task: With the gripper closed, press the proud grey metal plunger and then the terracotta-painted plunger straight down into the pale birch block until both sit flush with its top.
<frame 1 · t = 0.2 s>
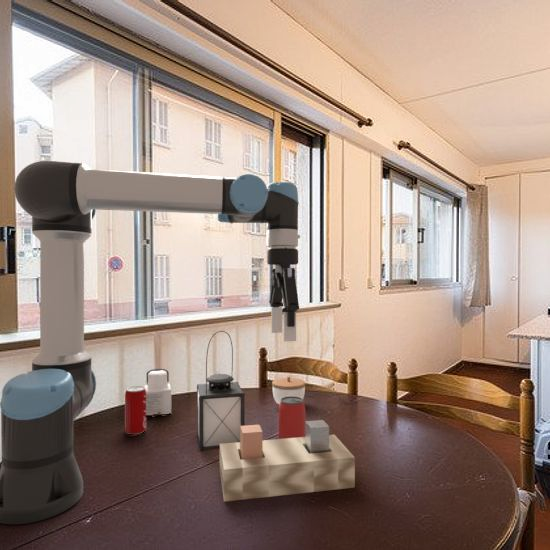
hand: (282, 336, 99), 28 cm above the table, fingers open, 13 cm apart
birch block: (284, 479, 86), on the table
container: (157, 412, 127), on the table
beer can: (291, 449, 101), on the table
metal peg: (316, 438, 87), point 8 cm above the table, slide at 5.0 cm
lidded jar: (288, 406, 134), on the table
soda can: (135, 432, 111), on the table
lantern: (219, 440, 106), on the table
terracotta peg: (251, 443, 84), point 8 cm above the table, slide at 5.0 cm
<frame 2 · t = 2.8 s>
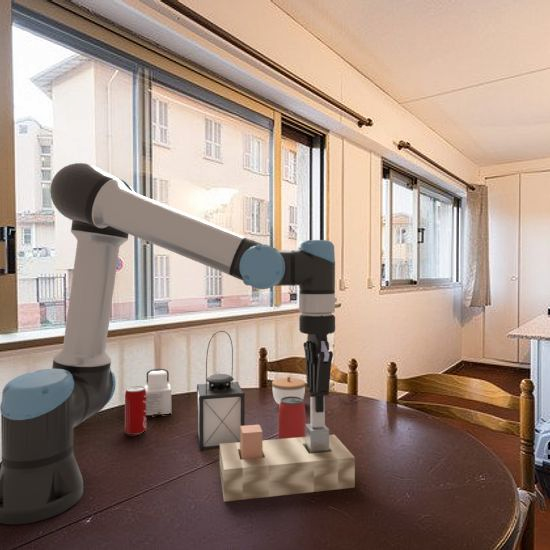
hand: (317, 425, 87), 11 cm above the table, fingers closed
metal peg: (316, 441, 87), point 7 cm above the table, slide at 4.4 cm, touching gripper
everything else where it was.
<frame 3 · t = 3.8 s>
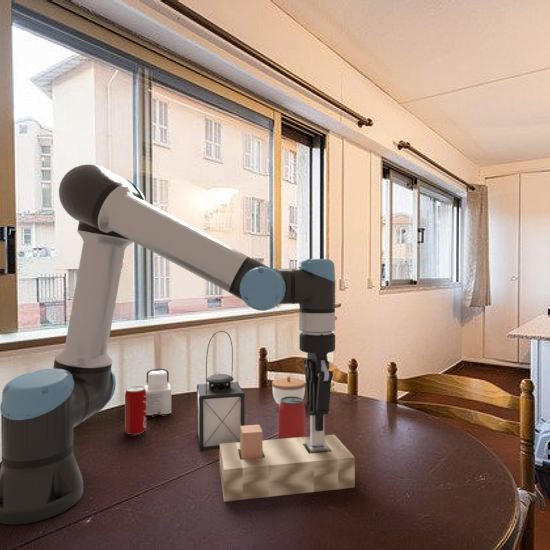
hand: (317, 443, 87), 7 cm above the table, fingers closed
metal peg: (316, 459, 87), point 4 cm above the table, slide at 0.5 cm, touching gripper
everything else where it was.
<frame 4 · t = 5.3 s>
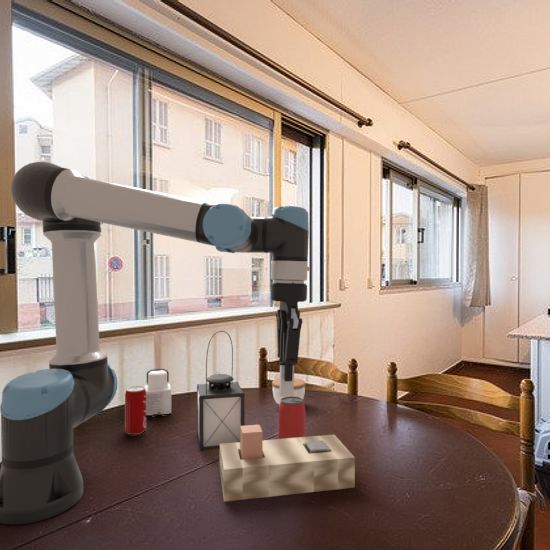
hand: (286, 395, 86), 17 cm above the table, fingers closed
metal peg: (316, 459, 87), point 4 cm above the table, slide at 0.5 cm
everything else where it was.
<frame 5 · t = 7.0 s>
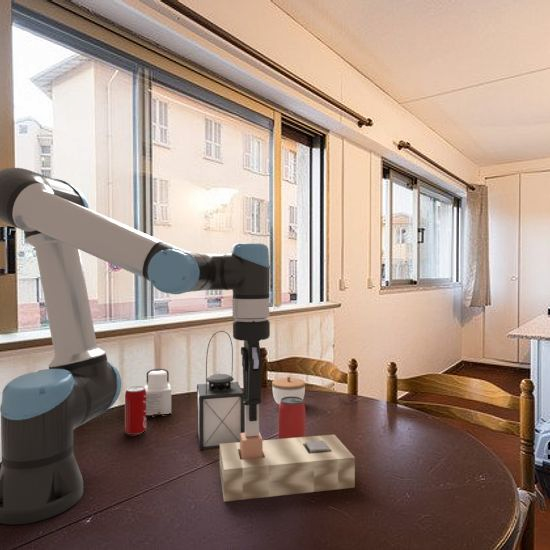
hand: (251, 434, 84), 10 cm above the table, fingers closed
terracotta peg: (251, 450, 84), point 7 cm above the table, slide at 3.5 cm, touching gripper
everything else where it was.
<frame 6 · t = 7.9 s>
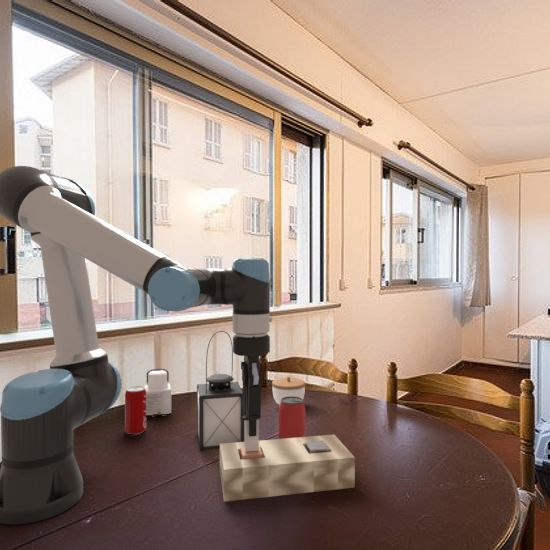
hand: (251, 449, 84), 7 cm above the table, fingers closed
terracotta peg: (251, 465, 84), point 4 cm above the table, slide at 0.5 cm, touching gripper
everything else where it was.
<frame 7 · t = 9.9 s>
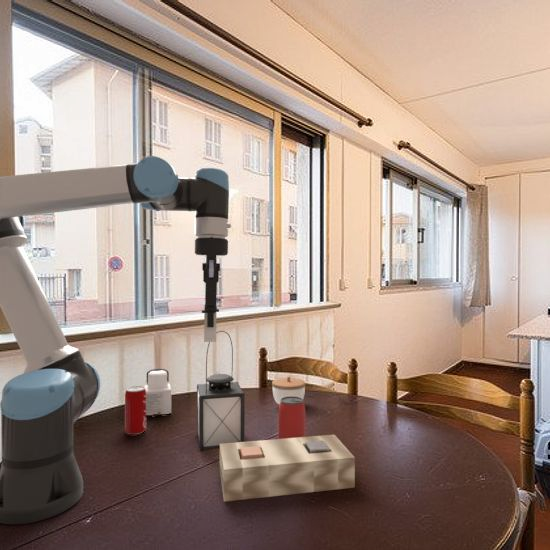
hand: (210, 341, 94), 27 cm above the table, fingers closed
terracotta peg: (251, 465, 84), point 4 cm above the table, slide at 0.5 cm
everything else where it was.
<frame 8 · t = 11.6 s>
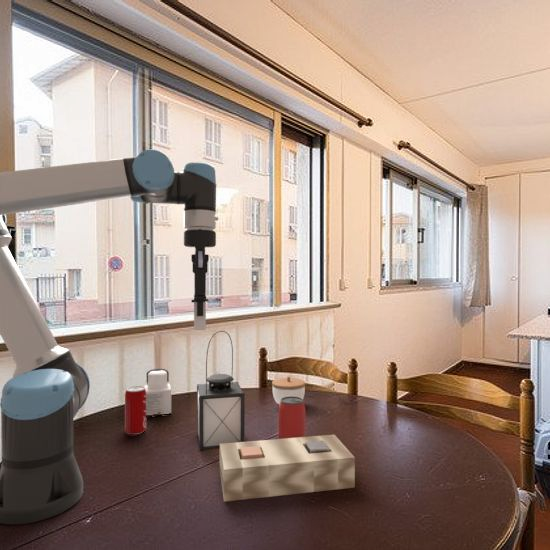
hand: (199, 329, 98), 29 cm above the table, fingers closed
nothing on the table moved.
at the end: metal peg slide at 0.5 cm; terracotta peg slide at 0.5 cm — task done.
